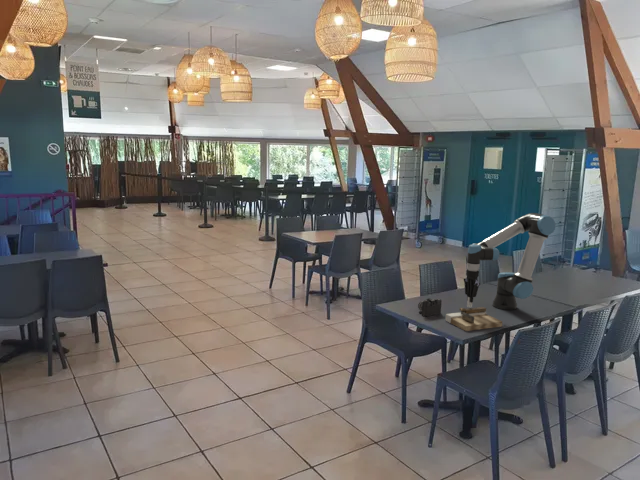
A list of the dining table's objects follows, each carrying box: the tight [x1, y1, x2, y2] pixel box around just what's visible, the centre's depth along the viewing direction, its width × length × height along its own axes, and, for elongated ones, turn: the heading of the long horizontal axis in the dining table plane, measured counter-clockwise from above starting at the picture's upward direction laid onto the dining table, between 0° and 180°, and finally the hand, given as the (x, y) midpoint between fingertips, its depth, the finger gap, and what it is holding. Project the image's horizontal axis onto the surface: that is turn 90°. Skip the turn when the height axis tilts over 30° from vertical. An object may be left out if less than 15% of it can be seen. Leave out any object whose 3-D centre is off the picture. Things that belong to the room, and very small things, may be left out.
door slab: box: [450, 313, 503, 332], centre depth 298 cm, size 26×14×3 cm, turn 112°
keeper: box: [462, 313, 474, 323], centre depth 295 cm, size 2×8×4 cm, turn 22°
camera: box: [417, 297, 442, 317], centre depth 316 cm, size 14×11×10 cm
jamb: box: [445, 311, 487, 324], centre depth 306 cm, size 26×5×6 cm, turn 112°
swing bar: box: [459, 306, 487, 314], centre depth 307 cm, size 18×4×3 cm, turn 112°
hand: (469, 306), depth 315 cm, fingers closed
